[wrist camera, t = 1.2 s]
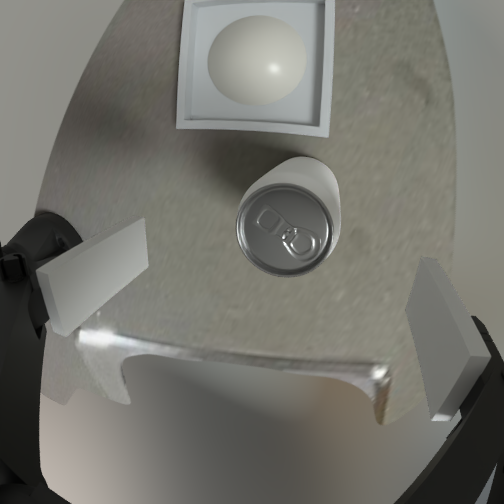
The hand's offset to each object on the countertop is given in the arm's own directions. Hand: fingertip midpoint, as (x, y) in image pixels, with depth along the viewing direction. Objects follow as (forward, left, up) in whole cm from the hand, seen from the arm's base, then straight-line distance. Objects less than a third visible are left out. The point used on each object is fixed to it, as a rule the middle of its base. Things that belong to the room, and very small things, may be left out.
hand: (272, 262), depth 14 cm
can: (0, 0, -16) cm, 16 cm away
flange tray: (-5, +12, -16) cm, 21 cm away
